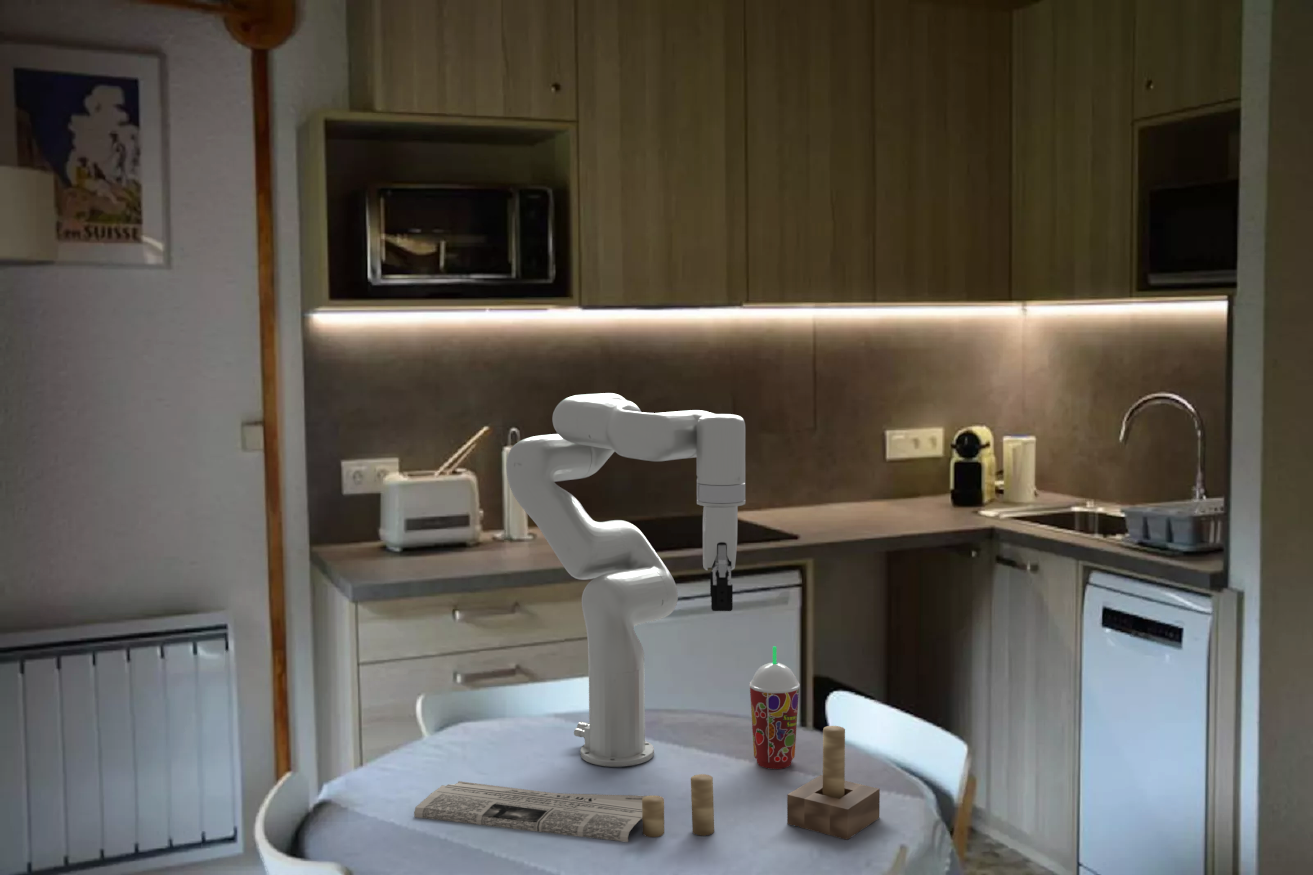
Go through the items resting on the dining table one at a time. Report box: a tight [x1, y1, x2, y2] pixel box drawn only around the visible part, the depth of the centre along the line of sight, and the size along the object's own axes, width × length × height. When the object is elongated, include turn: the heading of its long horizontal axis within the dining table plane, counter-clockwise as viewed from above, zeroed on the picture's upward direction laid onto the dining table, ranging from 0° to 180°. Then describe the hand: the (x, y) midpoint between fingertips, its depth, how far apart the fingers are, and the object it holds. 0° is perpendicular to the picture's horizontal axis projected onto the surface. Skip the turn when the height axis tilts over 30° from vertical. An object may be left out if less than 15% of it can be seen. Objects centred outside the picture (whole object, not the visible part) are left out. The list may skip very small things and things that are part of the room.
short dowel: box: [641, 794, 665, 838], centre depth 189 cm, size 3×3×5 cm
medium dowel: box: [690, 773, 715, 837], centre depth 189 cm, size 3×3×8 cm
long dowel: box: [822, 725, 846, 799], centre depth 193 cm, size 3×3×14 cm
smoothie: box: [749, 645, 801, 770], centre depth 217 cm, size 8×8×20 cm
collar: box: [786, 774, 881, 841], centre depth 193 cm, size 10×10×4 cm
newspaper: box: [413, 780, 647, 843], centre depth 197 cm, size 35×12×4 cm, turn 73°
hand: (721, 603), depth 202 cm, fingers open, 9 cm apart
